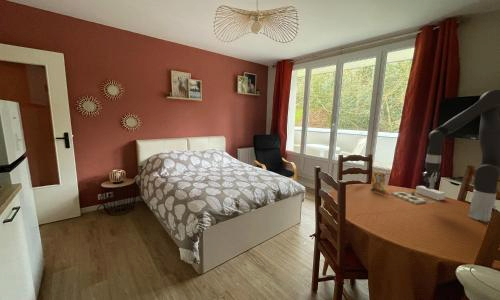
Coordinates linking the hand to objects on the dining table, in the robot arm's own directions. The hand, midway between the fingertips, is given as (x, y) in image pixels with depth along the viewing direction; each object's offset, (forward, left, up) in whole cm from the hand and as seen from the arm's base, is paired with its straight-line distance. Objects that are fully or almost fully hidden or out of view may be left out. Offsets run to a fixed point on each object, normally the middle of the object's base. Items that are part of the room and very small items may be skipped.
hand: (429, 186), depth 142 cm
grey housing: (+13, -21, -14) cm, 29 cm away
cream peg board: (+13, 0, -14) cm, 20 cm away
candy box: (+35, +5, -14) cm, 38 cm away
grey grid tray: (+13, -10, -14) cm, 22 cm away
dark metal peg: (0, 0, -1) cm, 1 cm away
